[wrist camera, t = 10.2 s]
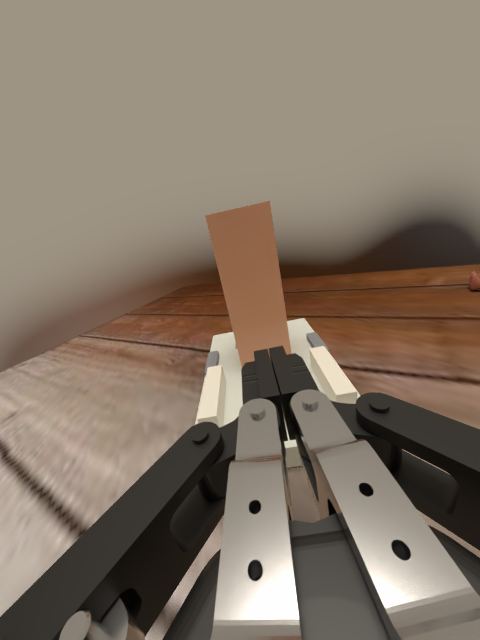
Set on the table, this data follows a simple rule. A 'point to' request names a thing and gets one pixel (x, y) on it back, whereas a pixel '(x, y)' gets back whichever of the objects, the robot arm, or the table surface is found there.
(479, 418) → the table surface
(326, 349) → the white stand base
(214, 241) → the block
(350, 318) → the table surface
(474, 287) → the toy character
